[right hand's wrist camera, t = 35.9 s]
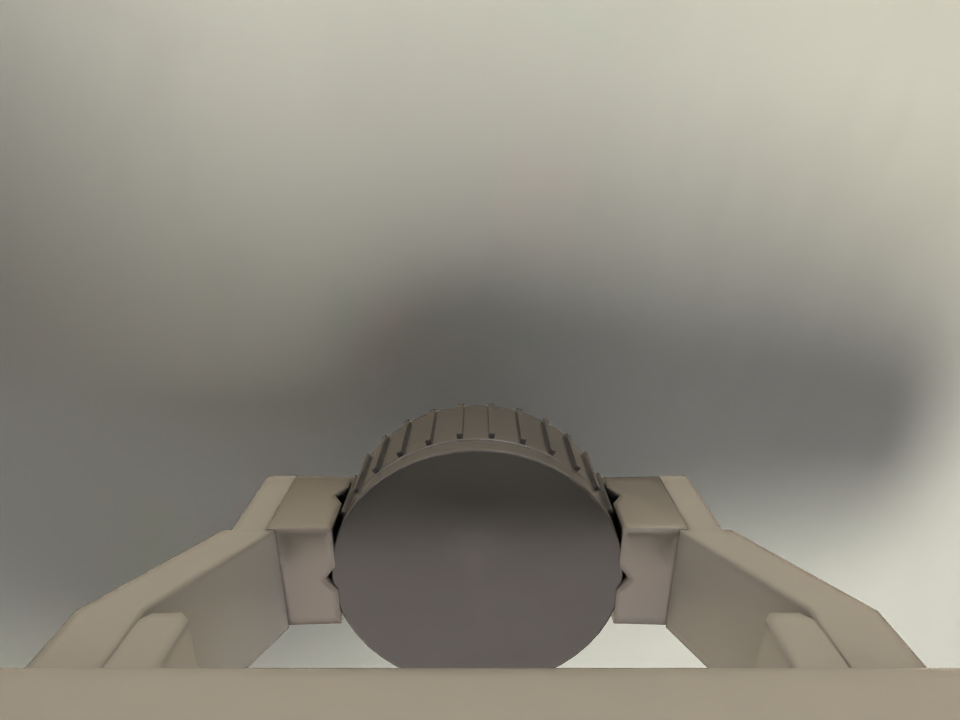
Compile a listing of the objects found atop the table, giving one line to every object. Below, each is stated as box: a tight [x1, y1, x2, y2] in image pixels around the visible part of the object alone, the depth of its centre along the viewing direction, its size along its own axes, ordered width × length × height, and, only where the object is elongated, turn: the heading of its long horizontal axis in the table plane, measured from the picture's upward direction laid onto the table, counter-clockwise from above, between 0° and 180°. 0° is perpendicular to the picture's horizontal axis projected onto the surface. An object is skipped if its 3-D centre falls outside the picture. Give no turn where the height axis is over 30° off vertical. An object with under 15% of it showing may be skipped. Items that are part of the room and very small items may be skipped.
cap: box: [332, 403, 623, 668], centre depth 9 cm, size 4×5×2 cm
